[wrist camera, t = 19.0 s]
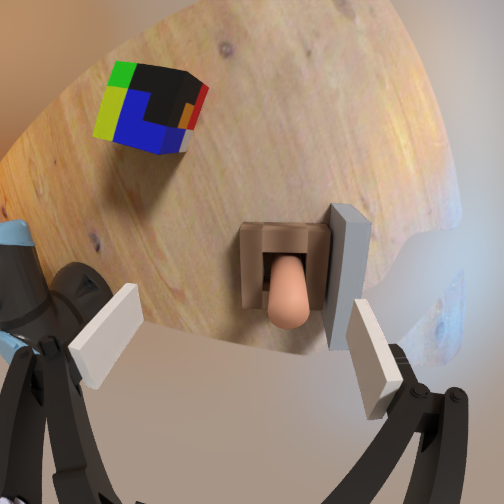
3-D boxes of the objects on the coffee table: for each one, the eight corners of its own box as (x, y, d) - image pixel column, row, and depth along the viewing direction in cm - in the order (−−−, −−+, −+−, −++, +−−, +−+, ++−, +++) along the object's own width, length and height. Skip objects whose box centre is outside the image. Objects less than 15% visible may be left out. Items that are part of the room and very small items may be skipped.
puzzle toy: (186, 151, 38) (158, 154, 29) (130, 135, 38) (92, 136, 28) (209, 87, 34) (187, 71, 25) (149, 75, 34) (115, 60, 25)
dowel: (271, 273, 44) (267, 328, 31) (272, 246, 42) (267, 293, 29) (301, 274, 43) (307, 329, 30) (302, 247, 41) (311, 294, 29)
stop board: (321, 311, 45) (329, 350, 36) (331, 203, 39) (346, 221, 29) (338, 311, 45) (349, 349, 36) (351, 204, 38) (371, 222, 29)
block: (245, 294, 45) (242, 308, 41) (243, 222, 41) (239, 230, 37) (319, 296, 44) (323, 310, 40) (326, 223, 40) (330, 232, 36)
